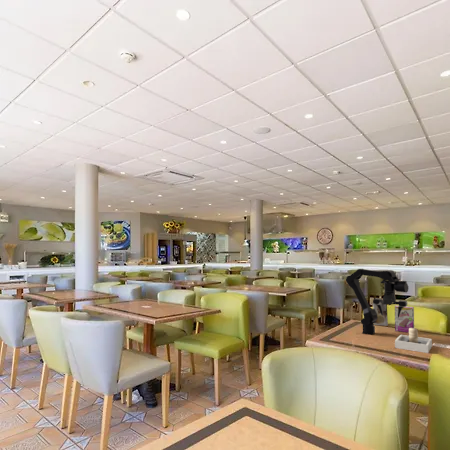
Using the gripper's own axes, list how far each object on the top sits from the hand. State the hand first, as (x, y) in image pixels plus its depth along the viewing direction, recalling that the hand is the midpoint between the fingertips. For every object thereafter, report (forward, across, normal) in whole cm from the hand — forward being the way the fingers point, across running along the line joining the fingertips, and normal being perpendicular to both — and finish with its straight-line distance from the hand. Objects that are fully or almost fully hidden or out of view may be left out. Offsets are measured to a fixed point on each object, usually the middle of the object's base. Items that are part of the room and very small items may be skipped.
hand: (390, 316), depth 216 cm
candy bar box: (+13, +4, +22) cm, 26 cm away
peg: (+13, +14, -13) cm, 24 cm away
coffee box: (+13, -14, +35) cm, 40 cm away
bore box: (+13, +14, -14) cm, 24 cm away
